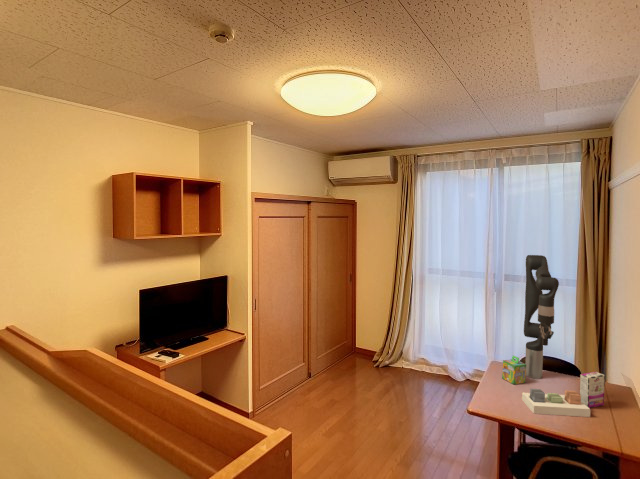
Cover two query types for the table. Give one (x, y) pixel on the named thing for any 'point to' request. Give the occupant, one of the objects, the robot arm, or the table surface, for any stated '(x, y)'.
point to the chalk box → (514, 371)
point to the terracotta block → (572, 397)
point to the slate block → (537, 395)
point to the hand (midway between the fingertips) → (544, 345)
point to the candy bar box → (592, 389)
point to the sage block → (554, 398)
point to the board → (556, 407)
